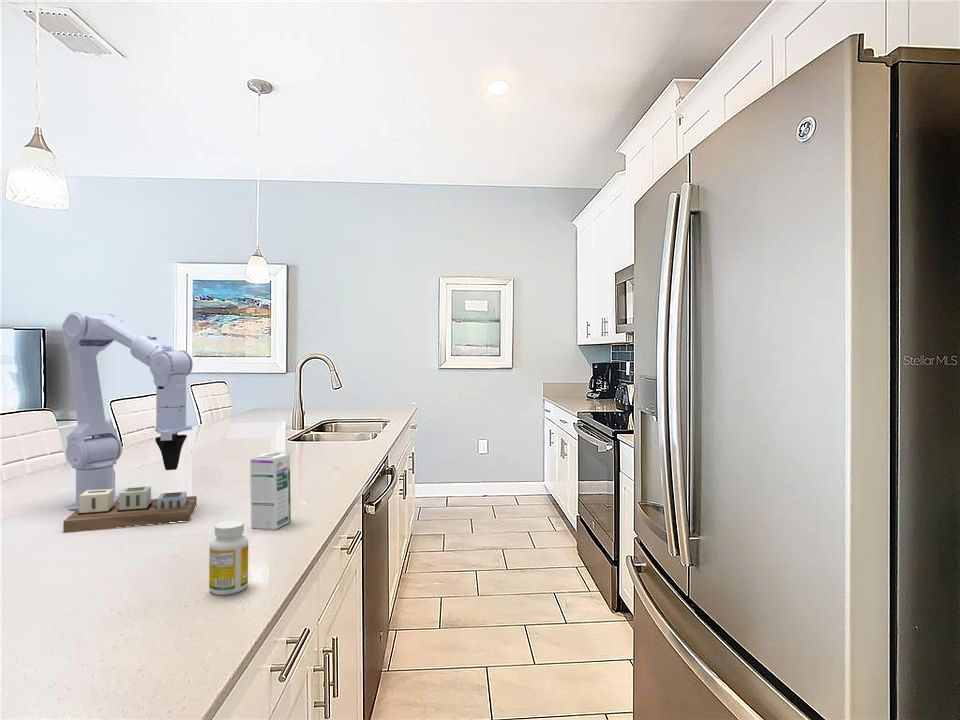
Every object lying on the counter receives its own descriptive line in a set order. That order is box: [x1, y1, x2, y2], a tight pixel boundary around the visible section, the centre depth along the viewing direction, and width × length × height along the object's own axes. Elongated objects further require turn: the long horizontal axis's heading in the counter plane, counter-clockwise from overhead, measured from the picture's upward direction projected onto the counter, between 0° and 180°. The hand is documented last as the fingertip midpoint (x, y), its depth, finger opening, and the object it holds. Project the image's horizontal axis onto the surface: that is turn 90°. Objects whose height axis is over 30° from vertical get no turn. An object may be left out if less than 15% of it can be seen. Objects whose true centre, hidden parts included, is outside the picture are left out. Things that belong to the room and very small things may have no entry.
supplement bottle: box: [208, 520, 249, 596], centre depth 87 cm, size 5×5×10 cm
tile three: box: [156, 491, 188, 509], centre depth 126 cm, size 5×5×4 cm
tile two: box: [118, 485, 152, 510], centre depth 124 cm, size 5×5×4 cm
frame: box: [62, 495, 197, 533], centre depth 124 cm, size 14×22×2 cm, turn 110°
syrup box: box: [249, 452, 292, 531], centre depth 119 cm, size 6×6×14 cm
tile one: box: [79, 489, 114, 513], centre depth 122 cm, size 5×5×4 cm
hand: (171, 469), depth 126 cm, fingers closed
